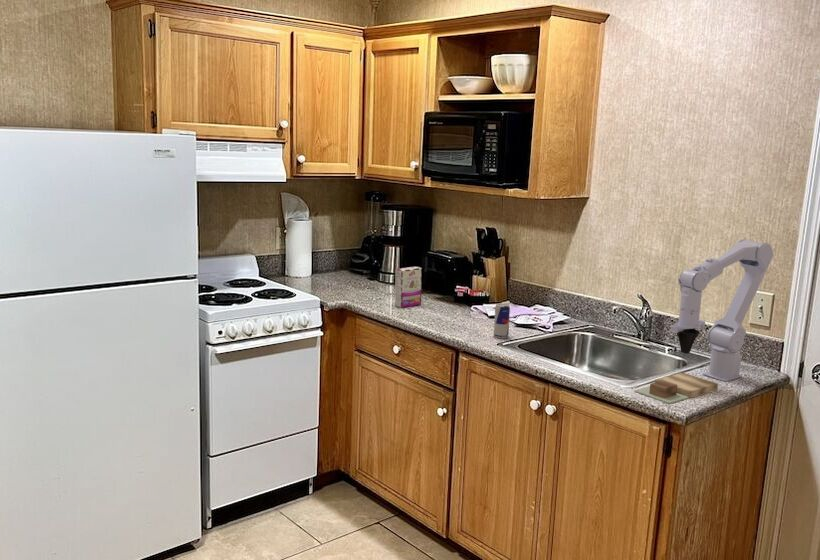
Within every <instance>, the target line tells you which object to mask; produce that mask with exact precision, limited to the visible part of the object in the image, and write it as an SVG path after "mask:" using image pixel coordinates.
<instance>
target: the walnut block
mask: <svg viewBox="0 0 820 560" xmlns="http://www.w3.org/2000/svg"><path fill="white" fill-rule="evenodd" d="M649 386H650V391H649V394H652V395H655V396H658V397H661V398H664V399H665V398H668V397H671V396H674V395H676V393H677V385H676V384H673V383H670V382H667V381H663V380H661V381H658V382H655V381H654V382H651V383H650V384H649Z"/></svg>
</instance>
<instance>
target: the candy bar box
mask: <svg viewBox="0 0 820 560" xmlns="http://www.w3.org/2000/svg"><path fill="white" fill-rule="evenodd" d="M422 269H423V267H420V266H409V267H401V268H400V267H399V268H395V273H394V276H395V277H394V278H395V279H394V280H395V283H394V286H395V287H394V289H395V290H394V291H395V292H394V307H397V308H400V309H405V308H410V307H416V306H421V305H422V279H423V278H422V274H423V270H422Z"/></svg>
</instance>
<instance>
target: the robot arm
mask: <svg viewBox="0 0 820 560" xmlns="http://www.w3.org/2000/svg"><path fill="white" fill-rule="evenodd" d="M773 252H774V251H773V247H772V245H771V244H769V242H759V241H754V240H748V239H745V238H742V239H740V240H738V241H737V242H734V243H733V246H732V248H730V249H729V250H727V251H726V252H724V253H722V255H720V256H718V258H715V257H711V258H710V257H707V258H705V260H704V262H702V263H700V264H699V265H695V266H694V267H693V268H692V269H690V268H686V269H685V270H684V271H682V272H681V273H680V275H679V277H678V278H677V280H678V281H677V282H678V285H679V287H680V288H679V291H680V293H681V296H680V302H679V304H680V306H679V314H678V322H676V323H674V324H672V325H671V326H670V333H674V334H676V335H677V339H678V341H679V347H680V351H681V352H680V353H682V354H686V355H689V354H690V353H691V350H692V347H693V346H694V342H695V341H696V339H697V338H698V336H699V335H700V330H699V329H703V328H705V327H706V321H704V320H700V313H701V305H702V304H701V303H702V296H703V295H702V294H703V291H704V290H705V289H706V288H707V286H708V284H709V283H710V282H711V281H713V280H714V279H716V278H718V277H719V276H721V275H722V274H723V272H724V269H726V268H727V267H729V266H732V265H733V264H735V263H737V262H738V263H739V264H740V266H741V267H742V268H743V270H744V274H743V277H742V279H741V281H740V283H739V285H738V287H737V289H736V291H735V293H734V295H733V297H732V299H731V302H730V304H729V307H728V308H727V310H726V312H725V315H724V316H723V317H721V318H719V319H717V320H715V321H714V324H712V326H711V327H710V328H709V329H708V331H707V334H706V335H707V336H706V340H707V342H708V343H709V347H710V348H711V351H710V352H711V353H710V359H709V360H710V361H709V369H708V371H705V372H703V373H702V375H703V376H706V377H709V378H713V379H715V380H720V381H723V382H728V381H732V380H735V379H739V378H741V377H743V375H741V374H740V371H741V363H742V354H741V352H740V350H741V349H742V348H743V345H744V341H745V337H746V334H747V331H746V329H745V327H744V326H743V322H744V319H745V317H746V316H747V313H748V311H749V309H750V307H751V304H752V302H753V300H755V299H754V298H755V296H756V294H757V291H758V290H759V288H760V286H761V283H762V281H763V279H764V277H765V274H766V272H767V270H768V268H769V266H770V264H771V262H772V260H773V258H774V253H773Z"/></svg>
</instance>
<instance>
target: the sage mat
mask: <svg viewBox="0 0 820 560" xmlns="http://www.w3.org/2000/svg"><path fill="white" fill-rule="evenodd" d="M649 391H650V385H649V386H644V387H642V388H638V389H635V390H633V392H634V393H637V394H640V395H642V396H646V397H647V398H650V399H654V400H657V401H659V402H662V403H664V404H667V405H670V404H674V403H678V402H681V401H684V400H688V399H690V398H689V397H687V396H684V395H681V394H678V393H676V395H674V396H671V397H668V398H665V399H664V398H661V397H658V396H655V395H652V394H649Z"/></svg>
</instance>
